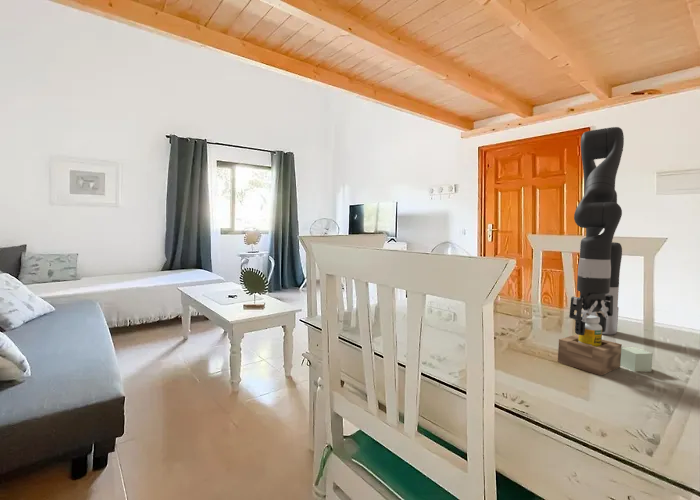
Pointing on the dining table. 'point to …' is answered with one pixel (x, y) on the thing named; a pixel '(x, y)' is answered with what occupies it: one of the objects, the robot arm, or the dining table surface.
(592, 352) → the brown open box
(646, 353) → the green cube
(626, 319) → the dining table surface
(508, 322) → the dining table surface
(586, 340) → the supplement bottle
